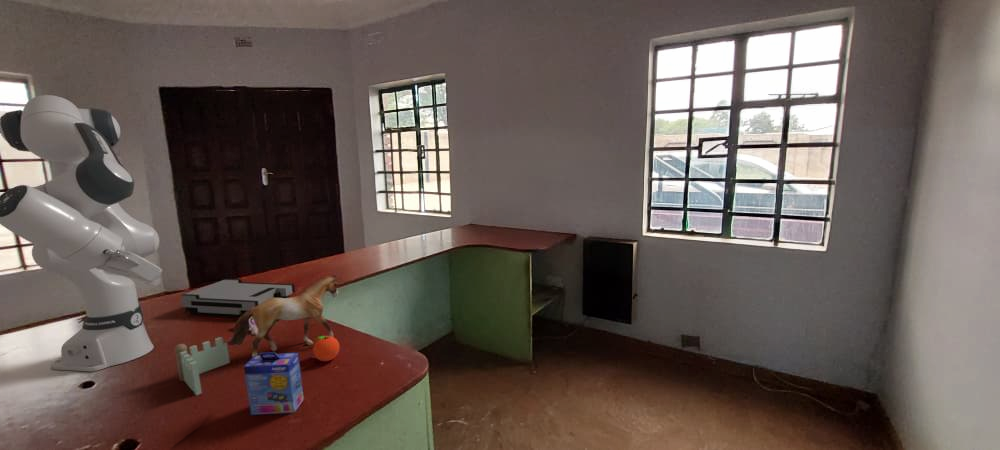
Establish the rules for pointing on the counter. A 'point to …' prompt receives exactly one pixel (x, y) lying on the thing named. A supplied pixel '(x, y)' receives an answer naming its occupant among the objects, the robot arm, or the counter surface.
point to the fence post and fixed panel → (204, 356)
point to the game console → (232, 297)
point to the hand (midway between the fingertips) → (155, 282)
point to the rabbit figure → (252, 327)
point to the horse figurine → (286, 312)
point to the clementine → (326, 348)
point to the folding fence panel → (190, 372)
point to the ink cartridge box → (274, 383)
